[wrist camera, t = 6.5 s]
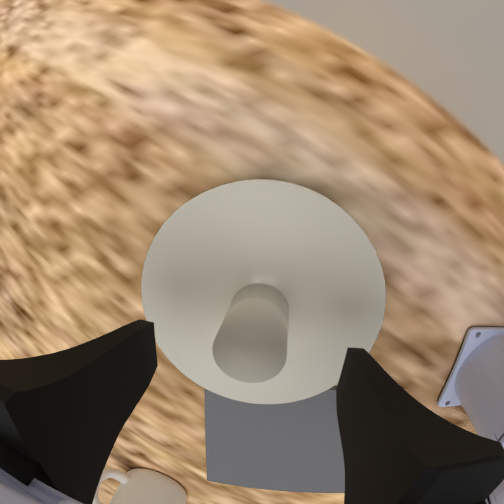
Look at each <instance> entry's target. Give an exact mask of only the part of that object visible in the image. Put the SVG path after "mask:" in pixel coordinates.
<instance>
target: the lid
mask: <svg viewBox="0 0 504 504" xmlns="http://www.w3.org/2000/svg"><path fill="white" fill-rule="evenodd" d="M141 293H142V302H143V308H144V312H145V316H146V320H147V321H149V322H154V331H155V340H156V342H157V344H158V345H159V347H160V348H161V350H162V351H163V353H164V354H165V356H166V357H167V358H168V359H169V360H170V361H171V362H172V363H173V365H174V366H175V367H176V368H178V369H179V370H180V371H181V372H182V373H183V374H184V375H185V376H187V377H188V378H189V379H191V380H192V381H194V382H195V383H196V384H198V385H200V386H202V387H203V388H205V389H207V390H209V391H211V392H213V393H216V394H218V395H220V396H223V397H226V398H229V399H233V400H236V401H241V402H246V403H254V404H282V403H290V402H295V401H299V400H304V399H307V398H309V397H312V396H315V395H318V394H320V393H322V392H324V391H326V390H328V389H330V388H332V387H333V386H335V385H336V384H338V382H339V378H340V375H341V371H342V368H343V364H344V360H345V356H346V352H347V349H348V347H349V348H364V349H365V350H366V351H367V352H368V353H369V352H370V350H371V348H372V346H373V344H374V343H375V341H376V339H377V336H378V334H379V331H380V328H381V326H382V322H383V317H384V312H385V302H386V290H385V279H384V275H383V271H382V266H381V263H380V261H379V258H378V256H377V253H376V251H375V249H374V247H373V245H372V243H371V242H370V240H369V238H368V237H367V235H366V234H365V232H364V231H363V230H362V229H361V227H360V226H359V225H358V224H357V222H356V221H355V220H354V219H353V218H352V217H351V216H350V215H349V214H348V213H346V212H345V211H344V210H343V209H342V208H341V207H340V206H339V205H337V204H336V203H334V202H333V201H331V200H330V199H329V198H327V197H326V196H324V195H322V194H320V193H318V192H316V191H314V190H312V189H310V188H307V187H304V186H301V185H298V184H295V183H291V182H286V181H280V180H273V179H250V180H240V181H236V182H232V183H228V184H224V185H221V186H218V187H216V188H213V189H211V190H208V191H206V192H203V193H201V194H200V195H198V196H196V197H194V198H193V199H191V200H189V201H188V202H186V203H185V204H184V205H183V206H181V207H180V208H179V209H178V210H176V211H175V212H174V213H173V214H172V215H171V216H170V217H169V218H168V220H167V221H166V222H165V223H164V224H163V226H162V227H161V228H160V230H159V231H158V233H157V234H156V236H155V238H154V240H153V242H152V244H151V246H150V248H149V250H148V253H147V256H146V259H145V262H144V267H143V273H142V286H141Z"/></svg>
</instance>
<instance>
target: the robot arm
mask: <svg viewBox="0 0 504 504" xmlns="http://www.w3.org/2000/svg"><path fill="white" fill-rule="evenodd" d="M478 332H479V333H478ZM477 333H478V334H477ZM476 334H477V335H476ZM156 368H157V355H156V343H155V331H154V322H149V321H144V320H137V321H134V322H132V323H129V324H127V325H125V326H123V327H121V328H118V329H116V330H114V331H112V332H110V333H107V334H105V335H103V336H101V337H98V338H96V339H93V340H91V341H88V342H86V343H83V344H81V345H78V346H76V347H73V348H70V349H67V350H63V351H59V352H56V353H52V354H47V355H42V356H37V357H31V358H23V359H12V360H0V504H92V503H93V500H94V496H95V493H96V490H97V487H98V484H99V481H100V478H101V475H102V472H103V470H104V467H105V465H106V462H107V460H108V457H109V455H110V452H111V450H112V448H113V446H114V443H115V441H116V439H117V437H118V435H119V433H120V431H121V429H122V427H123V425H124V424H125V422H126V421H127V419H128V418H129V416H130V414H131V413H132V411H133V410H134V408H135V407H136V405H137V403H138V402H139V400H140V399H141V397H142V396H143V394H144V392H145V391H146V389H147V388H148V386H149V384H150V382H151V379H152V377H153V375H154V373H155V370H156ZM447 401H448V402H447ZM437 403H438V406H439V407H449V406H460V405H462V406H463V408H464V410H465V412H466V414H467V415H468V417H469V419H470V421H471V423H472V425H473V427H474V429H475V431H476V433H477V435H476V434H474V433H471V432H469V431H467V430H464V429H462V428H460V427H458V426H456V425H454V424H452V423H450V422H448V421H447V420H445V419H443V418H442V417H440V416H438V415H437V414H435V413H433V412H432V411H430V410H429V409H428V408H426V407H425V406H424V405H422V404H421V403H419V402H418V401H417V400H416V399H414V398H413V397H412V396H411V395H409V394H408V393H407V392H406V391H405V390H404V389H403V388H402V387H401V386H399V385H398V384H397V383H396V382H395V381H394V380H393V379H392V378H391V377H390V376H389V375H388V374H387V373H386V371H385V370H384V369H383V368H382V367H381V366H380V365H379V364H378V363H377V362H376V361H375V360H374V359H373V357H372V356H371V355H370V354H369V353H368V352H367V351H366V350H365V349H364V348H349V347H348V349H347V352H346V356H345V360H344V364H343V368H342V371H341V375H340V378H339V382H338V385H337V389H336V408H337V418H338V425H339V431H340V438H341V444H342V451H343V457H344V467H345V500H344V504H504V327H472V328H470V329H469V330H468V332H467V335H466V337H465V340H464V343H463V345H462V348H461V350H460V353H459V355H458V358H457V360H456V363H455V365H454V367H453V370H452V372H451V374H450V376H449V379H448V381H447V383H446V385H445V387H444V389H443V392H442V394H441V396H440V398H439V400H438V402H437Z"/></svg>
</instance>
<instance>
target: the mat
mask: <svg viewBox="0 0 504 504" xmlns="http://www.w3.org/2000/svg"><path fill="white" fill-rule="evenodd" d="M336 389H337V386H333V387H332V388H330V389H328V390H326V391H324V392H322V393H320V394H318V395H315V396H312V397H309V398H307V399H304V400H299V401H295V402H290V403H282V404H254V403H246V402H241V401H236V400H233V399H229V398H226V397H223V396H220V395H218V394H216V393H213V392H211V391H209V390H207V389H205V434H206V462H207V481H212V482H218V483H223V484H229V485H236V486H243V487H250V488H258V489H267V490H278V491H291V492H310V493H345V467H344V457H343V451H342V444H341V438H340V431H339V425H338V418H337V408H336ZM403 389H404V388H403Z"/></svg>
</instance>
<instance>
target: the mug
mask: <svg viewBox="0 0 504 504" xmlns="http://www.w3.org/2000/svg"><path fill="white" fill-rule="evenodd" d="M107 478H114V479H116V480H118V481H119V482H121V483H120V485H119V487H118V489H117V491H116V493H115V494H114V496H113V498H112V500H111V502H110V504H186V500H187V495H186V492H185V490H184V489H183V487H182V486H181V485H180V484H179V483H177V482H176V481H175V480H173V479H171V478H170V477H168V476H166V475H164V474H161V473H159V472H156V471H153V470H149V469H142V468H136V469H132V470H129V471H128V472H127V473H124V472H122V471H120V470H118V469H115V468H104V470H103V472H102V475H101V478H100V481H99V484H98V487H97V490H96V493H95V496H94V500H93V503H92V504H101V502H100V500H99V497H98V489H99V486H100V484H101V483H102V482H103V481H104V480H105V479H107Z"/></svg>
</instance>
